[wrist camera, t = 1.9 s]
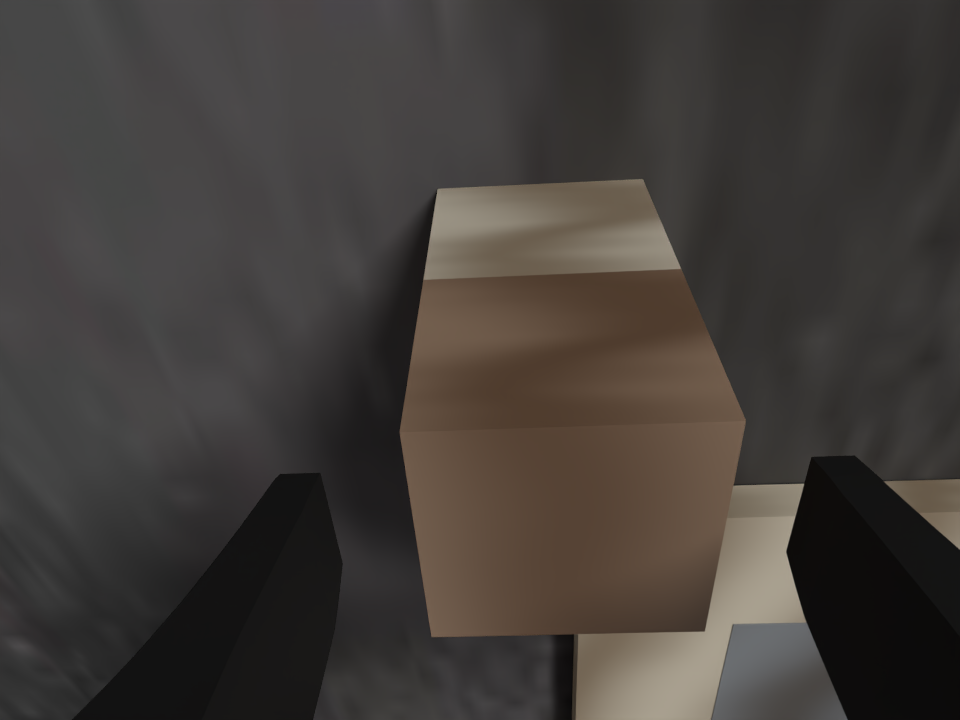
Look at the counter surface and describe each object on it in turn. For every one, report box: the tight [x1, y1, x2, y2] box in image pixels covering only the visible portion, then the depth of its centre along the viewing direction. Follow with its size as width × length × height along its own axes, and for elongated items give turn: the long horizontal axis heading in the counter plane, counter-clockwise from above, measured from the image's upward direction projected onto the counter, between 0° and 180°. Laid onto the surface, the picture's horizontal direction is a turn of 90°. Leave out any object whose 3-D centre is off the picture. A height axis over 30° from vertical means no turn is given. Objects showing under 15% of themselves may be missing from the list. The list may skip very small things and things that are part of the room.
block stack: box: [400, 179, 746, 637], centre depth 14 cm, size 4×4×8 cm
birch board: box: [572, 479, 960, 720], centre depth 25 cm, size 16×16×1 cm
